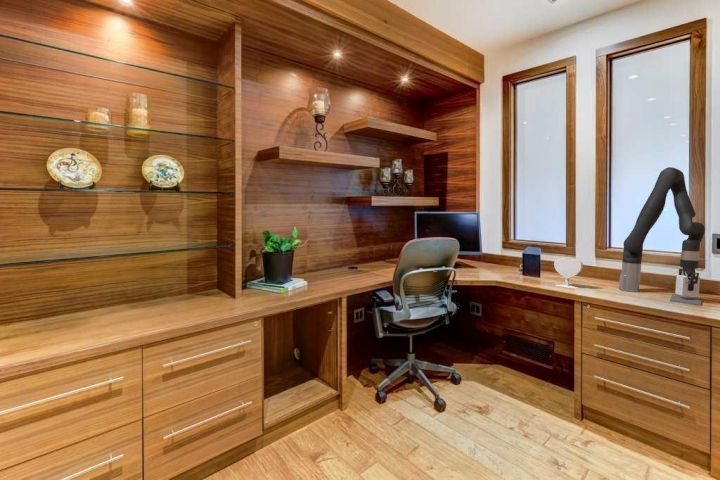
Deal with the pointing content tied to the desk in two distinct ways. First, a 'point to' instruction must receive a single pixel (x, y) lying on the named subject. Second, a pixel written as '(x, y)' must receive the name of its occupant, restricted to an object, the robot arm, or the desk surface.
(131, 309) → the desk surface
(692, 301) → the mat
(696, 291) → the small box
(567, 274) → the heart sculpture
